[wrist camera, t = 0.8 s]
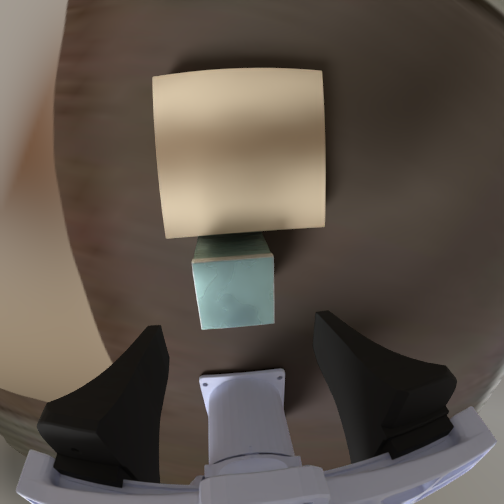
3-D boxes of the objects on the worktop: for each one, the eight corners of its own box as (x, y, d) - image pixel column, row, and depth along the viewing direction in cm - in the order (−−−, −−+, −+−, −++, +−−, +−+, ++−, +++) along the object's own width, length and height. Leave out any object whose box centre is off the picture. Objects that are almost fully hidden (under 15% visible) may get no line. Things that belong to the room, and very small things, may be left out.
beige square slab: (311, 215, 21) (324, 226, 18) (173, 225, 20) (166, 238, 17) (307, 79, 17) (321, 70, 14) (162, 86, 16) (152, 77, 14)
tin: (263, 286, 22) (274, 323, 17) (204, 290, 22) (201, 329, 17) (261, 229, 20) (273, 256, 16) (197, 234, 20) (191, 263, 15)
